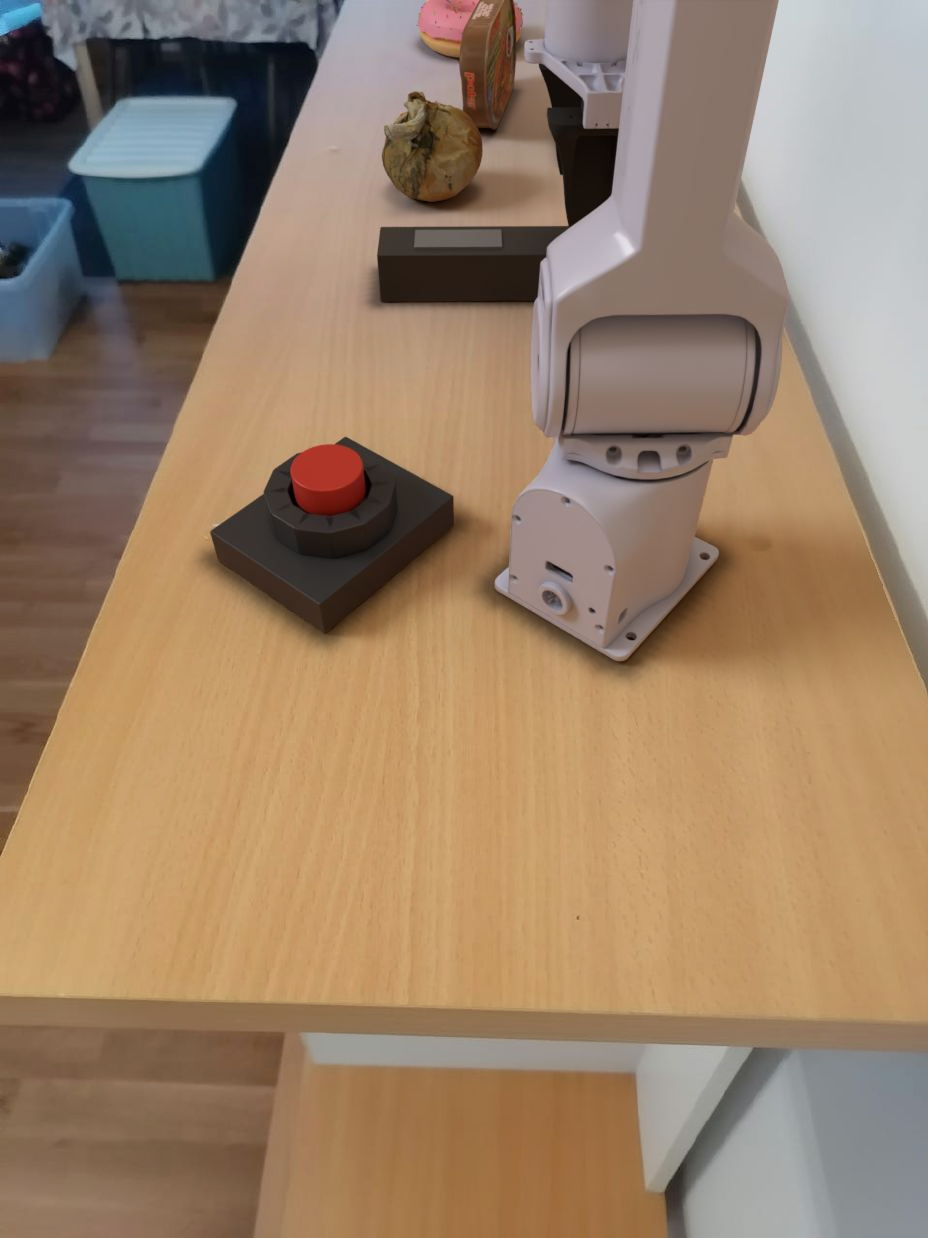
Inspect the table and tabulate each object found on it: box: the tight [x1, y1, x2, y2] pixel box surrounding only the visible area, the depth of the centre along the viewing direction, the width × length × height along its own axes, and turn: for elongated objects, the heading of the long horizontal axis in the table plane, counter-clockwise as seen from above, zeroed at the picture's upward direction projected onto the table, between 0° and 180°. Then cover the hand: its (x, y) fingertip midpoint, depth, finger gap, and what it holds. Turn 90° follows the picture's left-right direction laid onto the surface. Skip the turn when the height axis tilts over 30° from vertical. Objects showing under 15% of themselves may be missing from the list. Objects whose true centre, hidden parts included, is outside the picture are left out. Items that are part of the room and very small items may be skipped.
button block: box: [209, 436, 455, 634], centre depth 50 cm, size 10×8×4 cm
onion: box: [381, 90, 483, 203], centre depth 75 cm, size 8×8×8 cm
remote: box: [376, 225, 569, 302], centre depth 67 cm, size 15×4×4 cm, turn 90°
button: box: [290, 443, 366, 516], centre depth 48 cm, size 4×4×2 cm
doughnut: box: [416, 0, 524, 59], centre depth 98 cm, size 11×11×4 cm
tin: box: [458, 0, 517, 130], centre depth 85 cm, size 15×3×8 cm, turn 168°
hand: (579, 198), depth 63 cm, fingers open, 7 cm apart
